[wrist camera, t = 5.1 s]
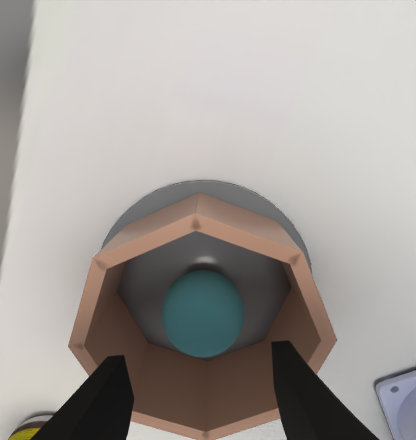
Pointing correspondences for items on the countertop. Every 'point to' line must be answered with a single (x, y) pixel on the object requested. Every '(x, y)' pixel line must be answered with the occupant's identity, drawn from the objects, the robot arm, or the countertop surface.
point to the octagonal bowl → (180, 265)
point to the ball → (202, 313)
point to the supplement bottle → (29, 428)
